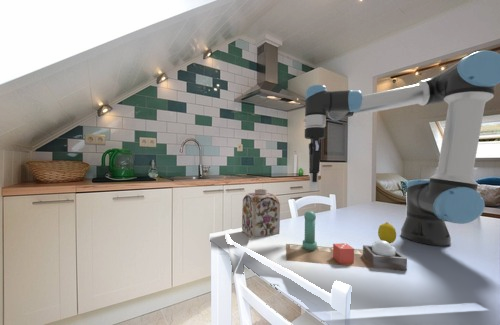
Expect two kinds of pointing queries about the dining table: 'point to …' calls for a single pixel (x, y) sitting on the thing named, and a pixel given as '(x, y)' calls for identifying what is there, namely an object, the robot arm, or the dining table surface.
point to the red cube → (343, 253)
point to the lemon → (387, 232)
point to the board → (360, 260)
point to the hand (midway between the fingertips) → (313, 190)
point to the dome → (383, 248)
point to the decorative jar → (260, 214)
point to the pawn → (309, 232)
